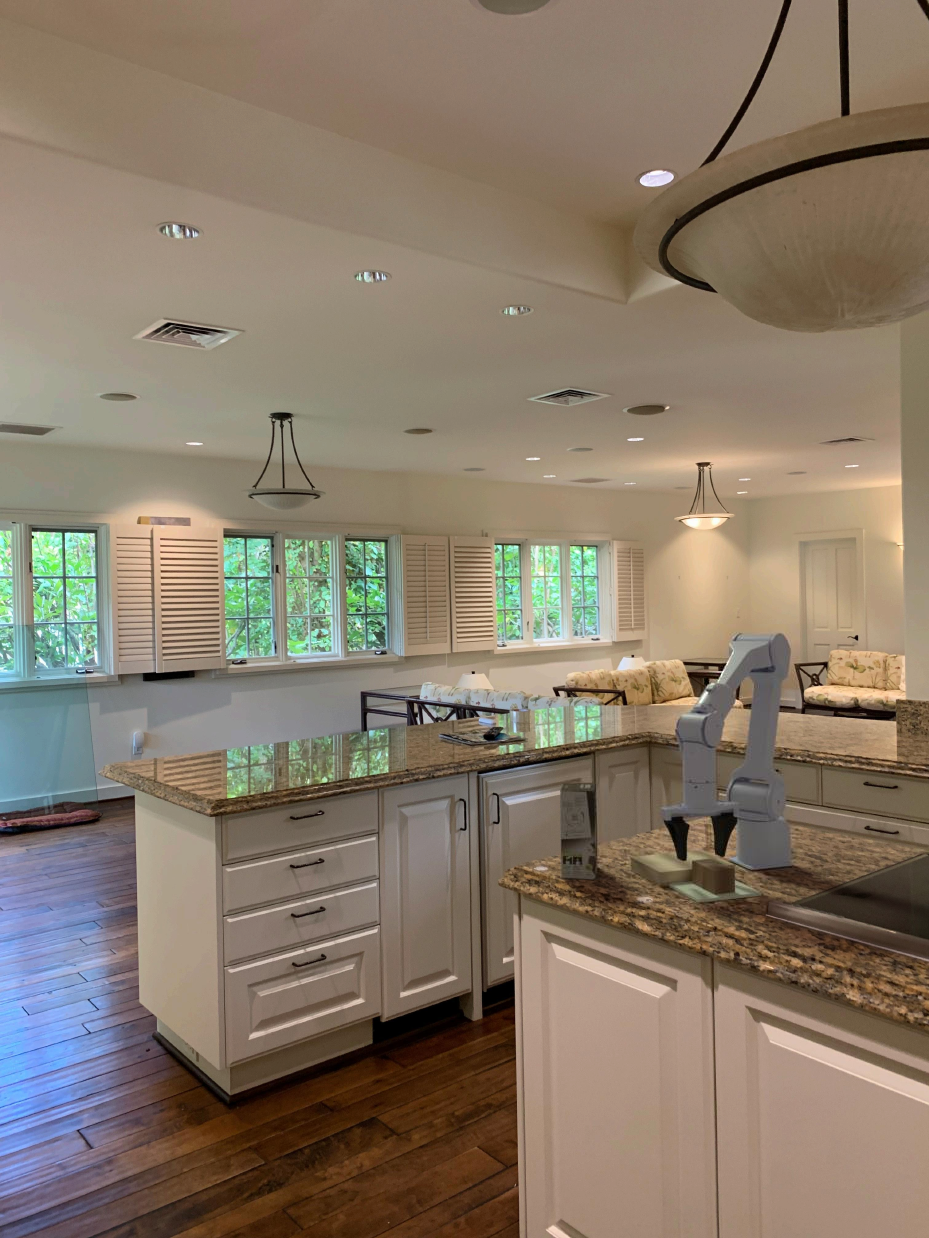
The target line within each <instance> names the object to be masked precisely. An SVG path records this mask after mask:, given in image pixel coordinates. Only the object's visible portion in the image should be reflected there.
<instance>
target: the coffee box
mask: <svg viewBox="0 0 929 1238" xmlns="http://www.w3.org/2000/svg"><path fill="white" fill-rule="evenodd" d="M559 790H560V857H561V858H560V862H561V863H560V865H561V866H560V867H561V868H560V871H561V874H560V876H561V878H563V879H575V880H576V879H577V880H580V879H581V880H593V881H594V880H595V879H596V875H597V870H598V866H599V865H598V819H597V818H598V817H597V815H598V814H597V783H596V782H574V783H573V782H572V783H571V782H564V783H563V784H562V786H561V789H559Z"/></svg>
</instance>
